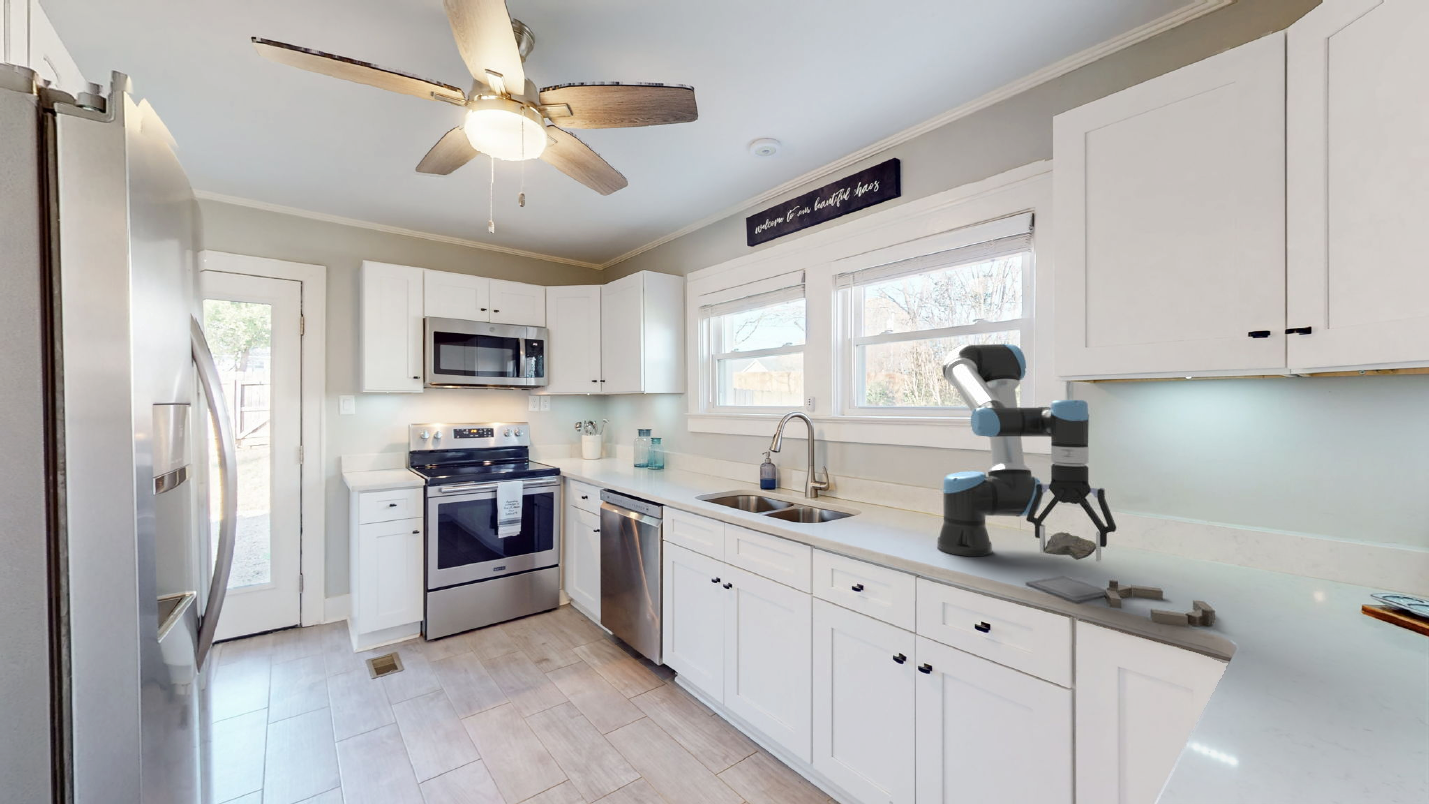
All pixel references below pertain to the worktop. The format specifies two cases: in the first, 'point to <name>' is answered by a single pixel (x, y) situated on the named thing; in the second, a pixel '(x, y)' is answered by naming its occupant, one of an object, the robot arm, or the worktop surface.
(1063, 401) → the robot arm
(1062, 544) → the fossilized seashell
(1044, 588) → the mat
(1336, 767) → the worktop surface
